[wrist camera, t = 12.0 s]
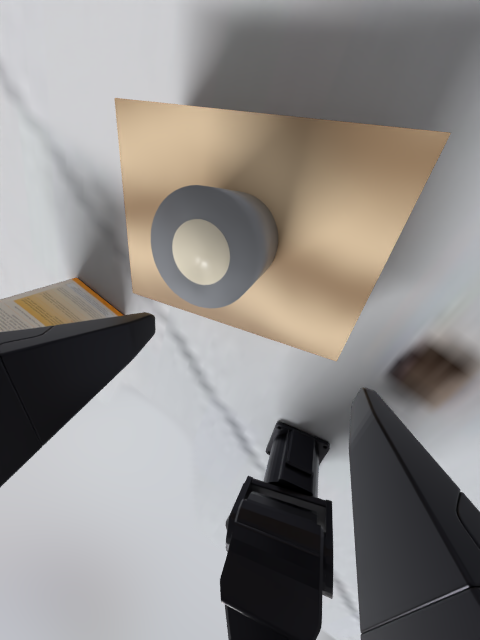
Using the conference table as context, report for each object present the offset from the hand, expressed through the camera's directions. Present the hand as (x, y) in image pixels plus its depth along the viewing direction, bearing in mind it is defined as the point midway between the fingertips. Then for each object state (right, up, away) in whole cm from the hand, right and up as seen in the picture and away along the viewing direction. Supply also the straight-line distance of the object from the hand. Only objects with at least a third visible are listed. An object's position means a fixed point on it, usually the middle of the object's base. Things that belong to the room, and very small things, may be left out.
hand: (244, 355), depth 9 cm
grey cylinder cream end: (0, +6, +4) cm, 8 cm away
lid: (0, +7, +5) cm, 8 cm away
